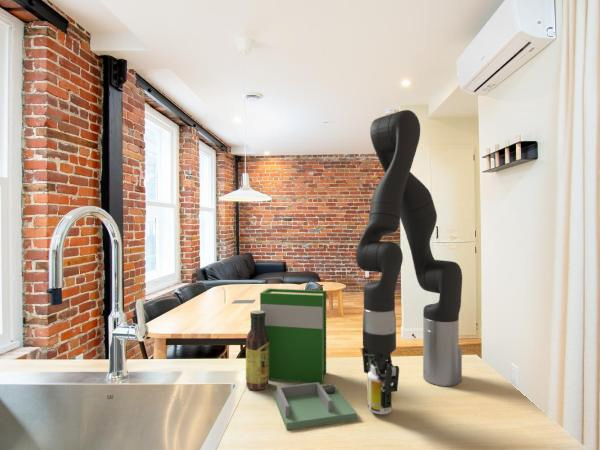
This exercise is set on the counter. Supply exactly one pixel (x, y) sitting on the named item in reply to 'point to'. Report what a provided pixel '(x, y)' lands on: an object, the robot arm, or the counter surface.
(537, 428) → the counter surface
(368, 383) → the supplement bottle
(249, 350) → the sauce bottle
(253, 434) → the counter surface
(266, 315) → the hardback book
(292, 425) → the green plate with knob
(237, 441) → the counter surface
